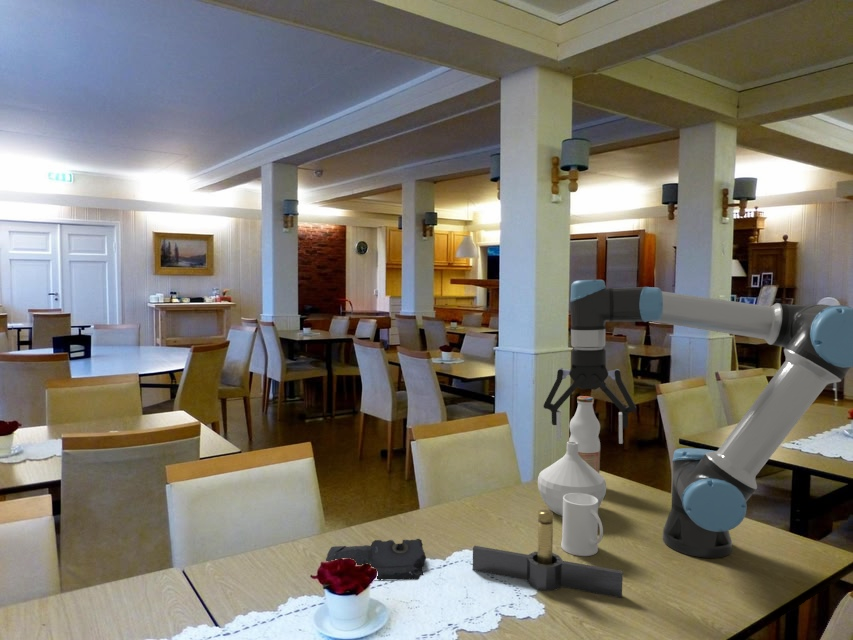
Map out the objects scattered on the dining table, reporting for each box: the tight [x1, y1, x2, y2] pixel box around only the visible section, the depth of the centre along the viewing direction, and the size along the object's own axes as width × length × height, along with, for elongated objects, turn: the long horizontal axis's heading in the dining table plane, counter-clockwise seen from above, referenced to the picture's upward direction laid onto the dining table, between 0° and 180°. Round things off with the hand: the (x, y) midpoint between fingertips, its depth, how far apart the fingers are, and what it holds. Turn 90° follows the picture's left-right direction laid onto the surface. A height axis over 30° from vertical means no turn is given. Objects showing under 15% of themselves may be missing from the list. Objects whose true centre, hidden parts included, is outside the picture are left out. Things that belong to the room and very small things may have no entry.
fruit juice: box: [568, 395, 601, 474], centre depth 182 cm, size 9×9×28 cm
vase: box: [537, 440, 607, 517], centre depth 163 cm, size 18×18×19 cm
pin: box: [537, 509, 554, 565], centre depth 124 cm, size 3×3×15 cm
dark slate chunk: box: [325, 538, 427, 581], centre depth 132 cm, size 15×22×5 cm
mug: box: [560, 493, 604, 557], centre depth 139 cm, size 12×8×12 cm
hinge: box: [472, 545, 624, 599], centre depth 124 cm, size 31×7×5 cm, turn 69°
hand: (589, 440), depth 136 cm, fingers open, 13 cm apart
